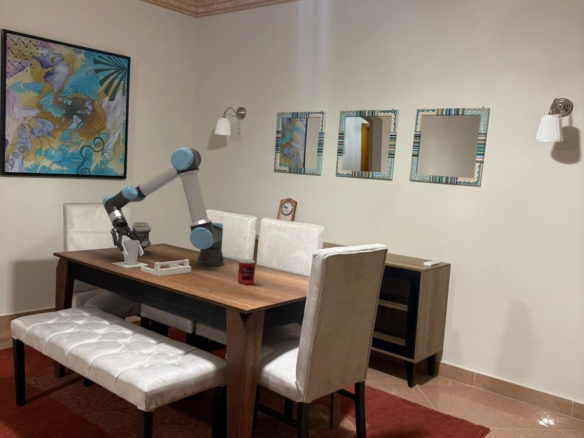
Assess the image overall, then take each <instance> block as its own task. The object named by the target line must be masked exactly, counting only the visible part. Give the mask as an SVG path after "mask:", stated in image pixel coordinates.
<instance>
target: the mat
mask: <svg viewBox="0 0 584 438" xmlns="http://www.w3.org/2000/svg"><path fill="white" fill-rule="evenodd" d="M112 265H115V266H119V267H122V268H125V269H130V268H132V269H133V268H139V267H140V268H141V266H144V267H148V266H149V264H147V263H144V262H141V261H137V264H135V265H127V264H124V261H120V262H119V261H118V262H112Z"/></svg>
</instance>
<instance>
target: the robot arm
mask: <svg viewBox="0 0 584 438" xmlns="http://www.w3.org/2000/svg"><path fill="white" fill-rule="evenodd" d="M170 163H171V164H170V165H169V166H168V167H165V168H164V169H163V170H161V171H159V172H158V173H156V174H154V175H153V176H151V177H150V178H149V179H147V180H145V181H144V182H141V183H140V184H139V185H137V186H135V187H134V186H133V185H131V184H128V185H127V186H125V187H124V188H122V189H121V190H120V191H118V193H116V194H115V195H114V194H109V195H108V196H104V198H103V200H102V205H103V208H104V209H105V211H106V214H107V216H108V219H109V221H110V222H111V225H112V228H111V230H110V234H111V236H112V242H113V245H114V247H117V249H119V251H120V252H121V253H122V254H123V257H126V256H127V255H128V253H127V251H126V248H125V246H124V243H123V236H125V237H126V238H129V240H137V241H140V242H139V248H138V252H139V254H138V255H139V256H140V257H141V256H143V255H144V254H143V253H144V252H143V250H142V246H141V243H142V242H143V240H142V239H141V237H140V236H139V235H138V233H137V232H136V230H135V228H134V227H133V228H131V227H130V226H129V224H128V221H127V219H126V217H125V216H126V215H125V214H124V213H123V208H124V207H125V206H127V205H128V204H130V203H136V202H137V203H139V202H142V201H144V200H146V197H148V196H149V195H151V194H153V193H155V192H156V191H157V190H160V189H161V188H163V187H164V186H166V185H168V184H169V183H171V182H172V181H174V180H175V179H177V178H180V179H181V183H182V187H183V191H184V195H185V198H186V199H185V200H186V203H187V207H188V211H189V215H190V219H191V224H190V225H189V228H190V234H189V240H190V243H191V245H192V246H193V247H194V248H196V249H198V250H199V252H198V255H197V258H196V264H197V265H200V266H205V267H206V266H208V267H211V266H212V267H220V266H224V264H225V258H224V254H223V237H224V236H223V235H224V225H223V224H222V223H219V222H212V220H211V219H209V217H208V213H207V209H206V204H205V201H204V197H203V193H202V189H201V184H200V180H199V177H198V173H199V172H200V165H201V164H202V156H201V154H200V152H199V151H198V150H197V149H195V148H190V147H179V148H176V149H175V150H174V151H173V152H172V153H171V156H170Z"/></svg>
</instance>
